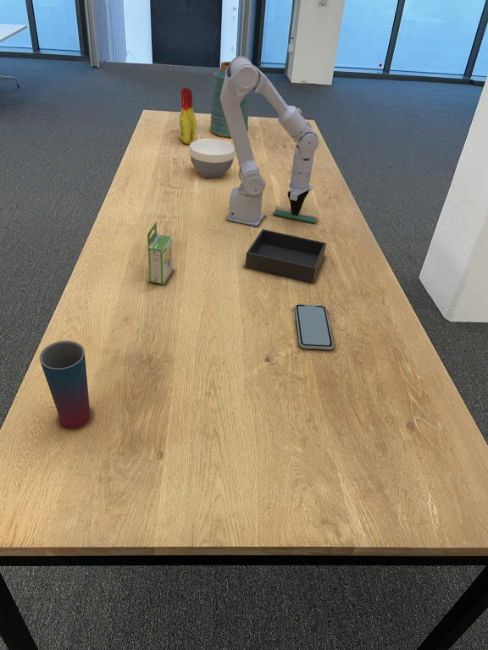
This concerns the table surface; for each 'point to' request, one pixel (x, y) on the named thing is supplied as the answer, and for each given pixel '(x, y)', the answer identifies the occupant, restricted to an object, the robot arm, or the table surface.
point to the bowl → (212, 157)
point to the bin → (286, 255)
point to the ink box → (159, 256)
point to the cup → (67, 381)
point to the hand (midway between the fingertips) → (295, 213)
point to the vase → (217, 113)
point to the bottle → (187, 117)
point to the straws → (301, 216)
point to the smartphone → (313, 327)
